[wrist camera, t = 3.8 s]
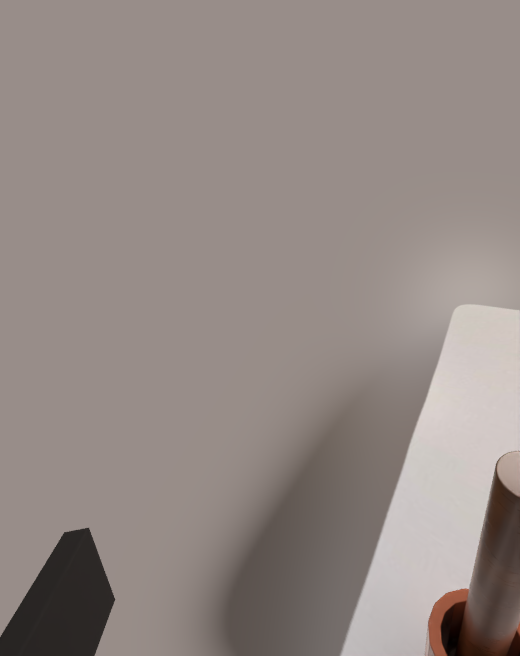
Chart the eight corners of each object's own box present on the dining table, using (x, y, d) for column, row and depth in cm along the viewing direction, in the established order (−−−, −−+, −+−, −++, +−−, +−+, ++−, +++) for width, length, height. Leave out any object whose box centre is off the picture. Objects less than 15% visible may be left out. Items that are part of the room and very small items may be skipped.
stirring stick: (457, 730, 27) (518, 528, 14) (432, 667, 30) (463, 450, 17) (507, 718, 27) (614, 506, 14) (477, 656, 30) (543, 432, 17)
